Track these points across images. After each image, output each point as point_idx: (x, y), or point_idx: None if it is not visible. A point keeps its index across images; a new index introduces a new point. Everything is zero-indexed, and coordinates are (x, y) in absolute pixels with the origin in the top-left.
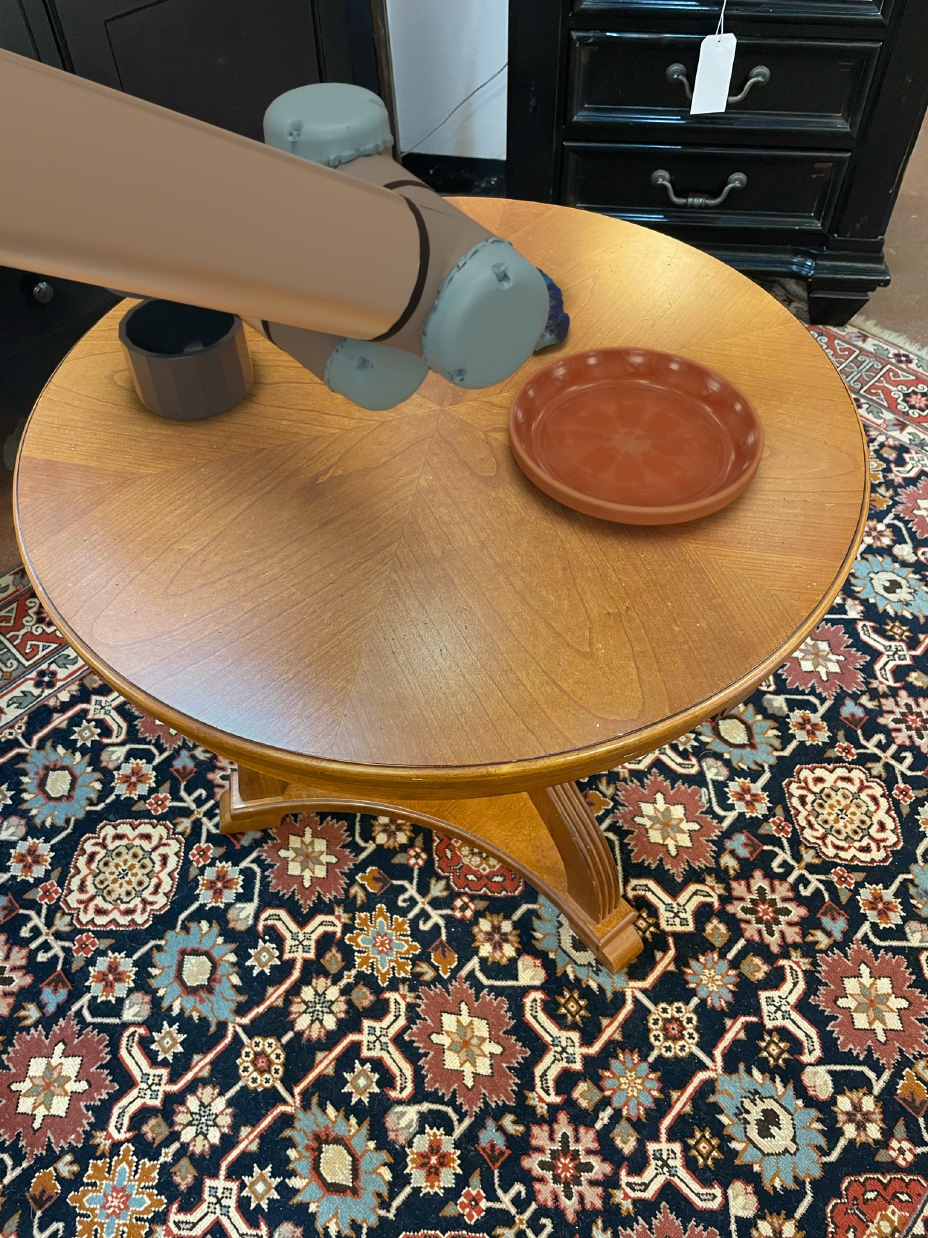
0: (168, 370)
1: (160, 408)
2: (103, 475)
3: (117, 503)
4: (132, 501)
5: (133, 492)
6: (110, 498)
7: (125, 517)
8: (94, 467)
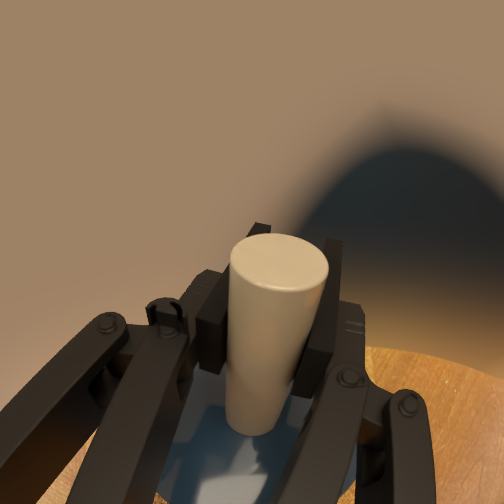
0: None
1: None
2: (78, 461)
3: (53, 486)
4: (59, 497)
5: (68, 494)
6: (56, 478)
7: (42, 497)
8: (85, 449)
